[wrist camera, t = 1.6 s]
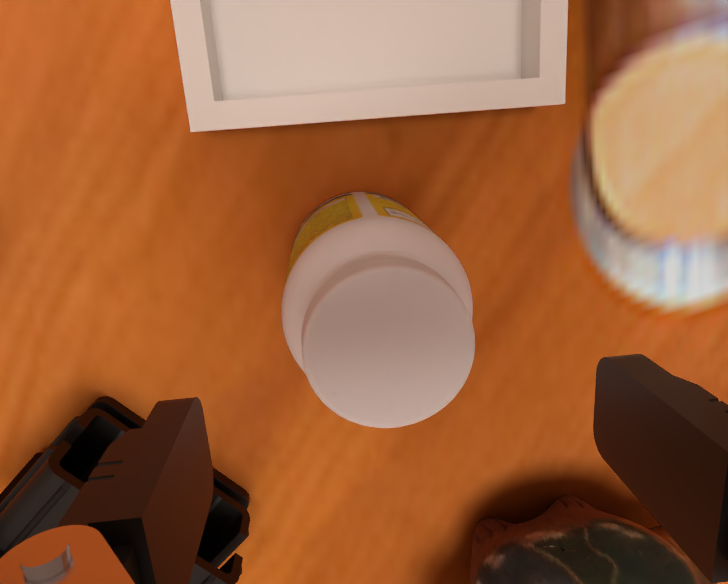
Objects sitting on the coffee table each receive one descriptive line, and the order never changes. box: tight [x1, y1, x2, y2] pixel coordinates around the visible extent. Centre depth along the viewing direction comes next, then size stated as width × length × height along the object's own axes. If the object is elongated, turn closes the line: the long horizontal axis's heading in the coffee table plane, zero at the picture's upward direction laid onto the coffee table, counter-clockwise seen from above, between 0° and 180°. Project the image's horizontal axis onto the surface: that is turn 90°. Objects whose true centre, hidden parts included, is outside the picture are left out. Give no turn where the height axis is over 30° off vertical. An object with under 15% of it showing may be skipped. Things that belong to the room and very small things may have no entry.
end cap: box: [0, 397, 250, 584], centre depth 25 cm, size 10×7×7 cm
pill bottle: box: [281, 192, 475, 428], centre depth 20 cm, size 6×6×11 cm
